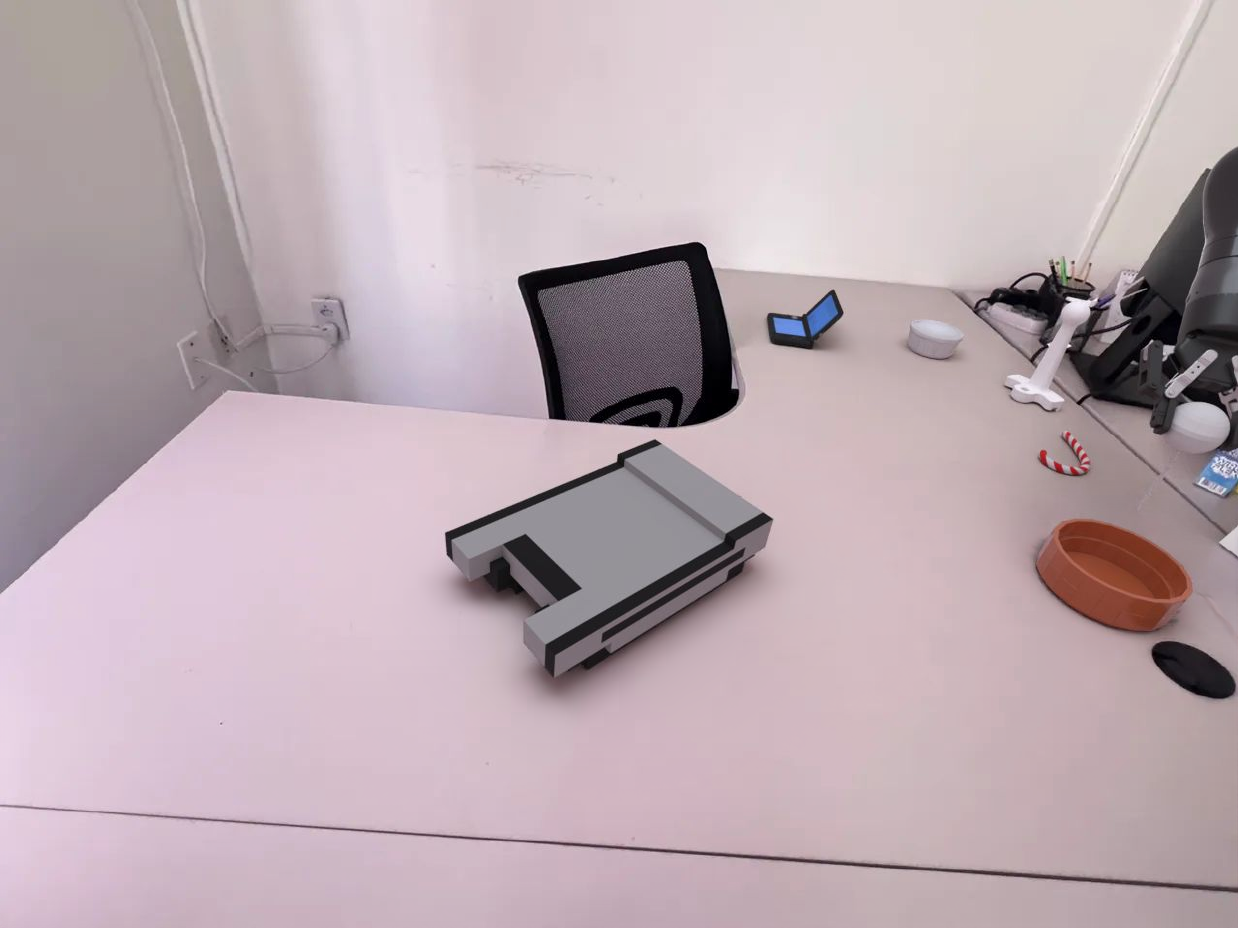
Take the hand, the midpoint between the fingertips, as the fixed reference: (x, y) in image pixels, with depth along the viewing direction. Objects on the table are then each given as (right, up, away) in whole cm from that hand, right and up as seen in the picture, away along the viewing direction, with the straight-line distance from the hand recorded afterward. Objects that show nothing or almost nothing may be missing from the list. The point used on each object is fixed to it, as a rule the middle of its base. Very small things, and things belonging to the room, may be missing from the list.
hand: (1195, 440), depth 73 cm
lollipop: (0, -9, +8) cm, 12 cm away
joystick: (+17, +10, +57) cm, 61 cm away
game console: (-24, +26, +74) cm, 82 cm away
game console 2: (-66, -16, +6) cm, 68 cm away
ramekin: (+5, +23, +73) cm, 77 cm away
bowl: (-2, -19, +12) cm, 22 cm away
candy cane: (+12, -1, +40) cm, 42 cm away
